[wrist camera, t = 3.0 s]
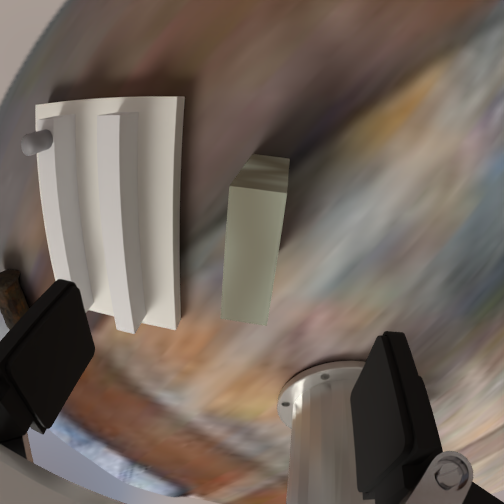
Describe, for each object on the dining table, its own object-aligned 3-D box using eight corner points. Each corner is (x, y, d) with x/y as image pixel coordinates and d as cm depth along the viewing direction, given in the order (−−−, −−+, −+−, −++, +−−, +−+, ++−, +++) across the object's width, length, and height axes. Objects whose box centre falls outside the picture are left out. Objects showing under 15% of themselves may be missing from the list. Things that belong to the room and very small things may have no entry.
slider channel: (184, 96, 19) (147, 98, 14) (181, 319, 27) (159, 366, 22) (47, 103, 20) (-4, 112, 15) (68, 293, 28) (36, 329, 23)
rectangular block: (289, 158, 20) (287, 193, 13) (276, 254, 24) (266, 325, 16) (252, 153, 20) (229, 186, 13) (243, 249, 24) (220, 318, 17)
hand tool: (2, 265, 29) (-24, 286, 24) (22, 267, 28) (-5, 290, 24) (55, 381, 37) (40, 403, 33) (76, 388, 37) (61, 412, 33)
